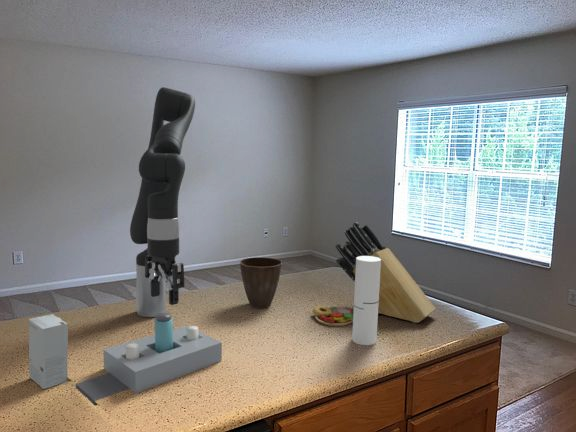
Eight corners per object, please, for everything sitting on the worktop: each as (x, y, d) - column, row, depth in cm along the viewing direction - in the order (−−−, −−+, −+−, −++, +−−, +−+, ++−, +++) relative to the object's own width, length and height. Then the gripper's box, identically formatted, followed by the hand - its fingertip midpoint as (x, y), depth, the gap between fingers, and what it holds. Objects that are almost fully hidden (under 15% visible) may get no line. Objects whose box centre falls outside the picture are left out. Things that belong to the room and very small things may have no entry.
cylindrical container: (376, 346, 136) (380, 262, 133) (351, 343, 137) (355, 260, 134) (376, 337, 143) (381, 256, 139) (352, 334, 144) (356, 255, 141)
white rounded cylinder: (124, 373, 113) (123, 345, 112) (135, 369, 115) (135, 342, 114) (130, 377, 111) (129, 349, 110) (141, 373, 113) (141, 346, 112)
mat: (76, 387, 108) (75, 383, 108) (117, 374, 115) (117, 370, 115) (94, 405, 101) (94, 400, 101) (137, 389, 109) (137, 385, 108)
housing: (104, 372, 116) (103, 349, 115) (186, 345, 133) (186, 325, 132) (135, 397, 105) (135, 372, 104) (221, 364, 122) (221, 342, 121)
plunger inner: (184, 353, 125) (184, 327, 124) (194, 349, 127) (193, 325, 126) (191, 356, 123) (190, 331, 122) (200, 353, 125) (200, 328, 124)
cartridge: (151, 364, 119) (151, 315, 117) (167, 359, 122) (166, 311, 120) (161, 370, 116) (160, 319, 114) (176, 364, 119) (176, 315, 117)
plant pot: (230, 303, 170) (231, 260, 167) (262, 295, 180) (263, 255, 177) (256, 315, 159) (257, 269, 156) (289, 306, 169) (290, 262, 166)
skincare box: (28, 378, 112) (25, 318, 110) (54, 370, 117) (52, 312, 115) (44, 390, 107) (41, 328, 105) (70, 381, 111) (68, 321, 109)
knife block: (345, 296, 182) (349, 217, 178) (435, 317, 162) (442, 228, 157) (330, 303, 173) (334, 220, 169) (424, 326, 153) (431, 233, 148)
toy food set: (310, 314, 162) (310, 305, 162) (346, 312, 165) (347, 303, 164) (320, 328, 149) (321, 319, 149) (360, 326, 152) (360, 317, 151)
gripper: (193, 238, 112) (193, 303, 114) (161, 230, 122) (162, 290, 124) (165, 242, 107) (166, 310, 109) (134, 233, 117) (136, 296, 119)
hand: (164, 299), depth 117 cm, fingers open, 8 cm apart
